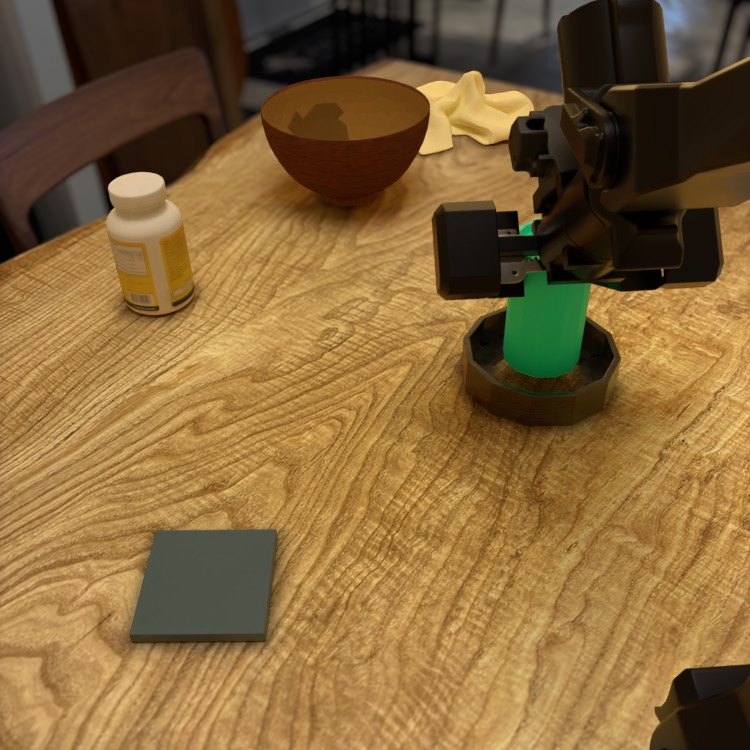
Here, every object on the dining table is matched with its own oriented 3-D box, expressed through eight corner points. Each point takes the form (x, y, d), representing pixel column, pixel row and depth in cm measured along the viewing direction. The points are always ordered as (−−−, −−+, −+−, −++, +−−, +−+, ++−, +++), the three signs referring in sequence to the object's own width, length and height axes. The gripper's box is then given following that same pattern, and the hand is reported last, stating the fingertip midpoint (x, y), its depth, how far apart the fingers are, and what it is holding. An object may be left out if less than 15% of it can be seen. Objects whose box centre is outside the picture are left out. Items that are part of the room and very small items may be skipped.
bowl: (416, 238, 87) (418, 145, 81) (249, 226, 90) (238, 135, 83) (436, 163, 100) (439, 79, 94) (291, 155, 103) (284, 72, 97)
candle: (491, 339, 70) (503, 206, 62) (560, 328, 71) (579, 195, 63) (518, 383, 65) (534, 245, 58) (591, 371, 66) (616, 234, 59)
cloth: (408, 85, 120) (408, 41, 116) (541, 94, 117) (546, 48, 113) (374, 151, 103) (373, 102, 100) (528, 164, 100) (533, 113, 96)
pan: (628, 424, 65) (635, 394, 63) (470, 427, 65) (473, 397, 63) (560, 237, 87) (564, 210, 85) (442, 239, 87) (443, 213, 85)
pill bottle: (200, 278, 82) (181, 165, 74) (190, 317, 77) (169, 200, 69) (132, 280, 82) (106, 167, 74) (118, 319, 77) (89, 202, 69)
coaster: (277, 536, 57) (276, 528, 56) (265, 641, 51) (264, 633, 50) (157, 538, 57) (155, 529, 56) (131, 642, 51) (128, 634, 50)
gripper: (751, 73, 51) (655, 167, 66) (439, 85, 50) (416, 178, 65) (772, 255, 49) (670, 308, 65) (453, 271, 49) (426, 321, 64)
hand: (545, 274), depth 65 cm, fingers closed on candle, 5 cm apart
